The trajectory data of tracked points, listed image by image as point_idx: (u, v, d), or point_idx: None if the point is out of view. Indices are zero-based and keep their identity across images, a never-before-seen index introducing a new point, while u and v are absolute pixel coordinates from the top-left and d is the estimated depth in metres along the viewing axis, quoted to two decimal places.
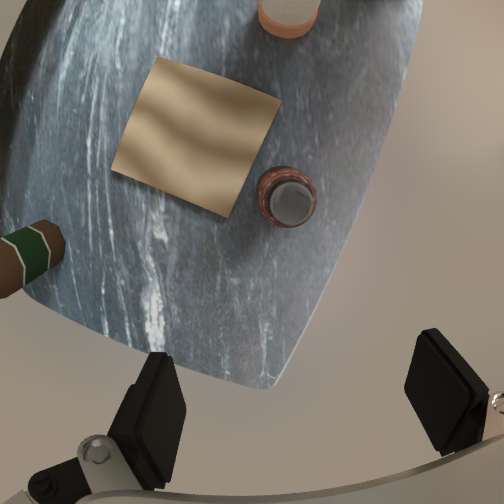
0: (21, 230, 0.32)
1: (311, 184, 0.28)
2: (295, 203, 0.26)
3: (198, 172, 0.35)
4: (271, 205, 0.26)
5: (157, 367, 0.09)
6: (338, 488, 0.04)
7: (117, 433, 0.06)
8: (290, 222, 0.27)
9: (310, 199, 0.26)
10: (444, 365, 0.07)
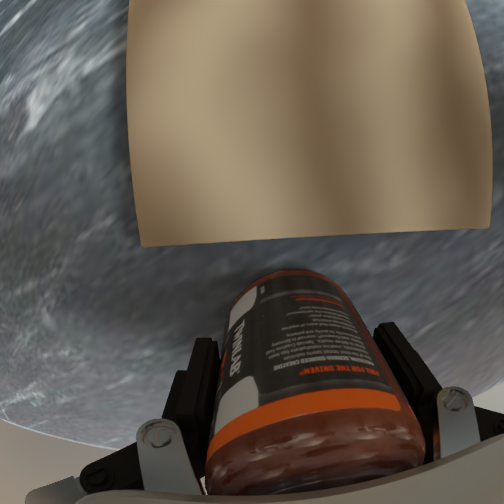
0: None
1: None
2: None
3: (224, 92, 0.10)
4: None
5: (206, 351, 0.10)
6: (338, 488, 0.04)
7: (178, 414, 0.07)
8: None
9: None
10: (395, 358, 0.08)
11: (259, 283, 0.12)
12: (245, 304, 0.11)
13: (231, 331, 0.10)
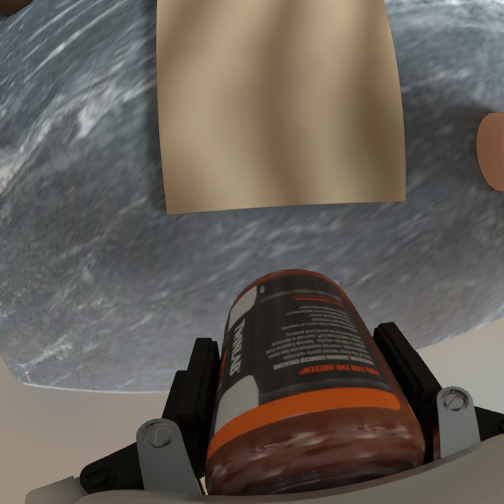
0: None
1: None
2: None
3: (219, 120, 0.17)
4: None
5: (206, 351, 0.10)
6: (338, 488, 0.04)
7: (179, 414, 0.07)
8: None
9: None
10: (395, 358, 0.08)
11: (259, 283, 0.12)
12: (245, 303, 0.11)
13: (231, 331, 0.10)
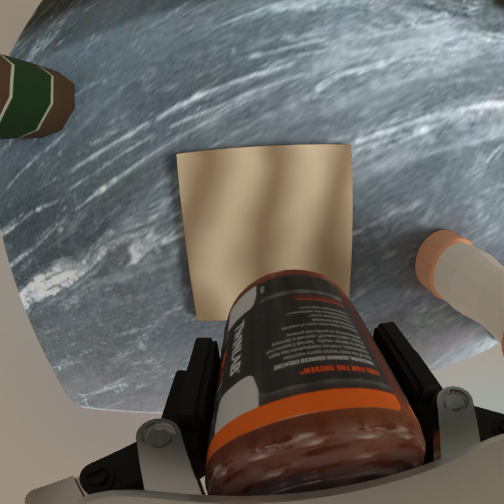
0: (40, 76, 0.18)
1: None
2: None
3: (228, 269, 0.29)
4: None
5: (206, 351, 0.10)
6: (338, 488, 0.04)
7: (179, 414, 0.07)
8: None
9: None
10: (395, 358, 0.08)
11: (259, 283, 0.12)
12: (245, 303, 0.11)
13: (231, 331, 0.10)
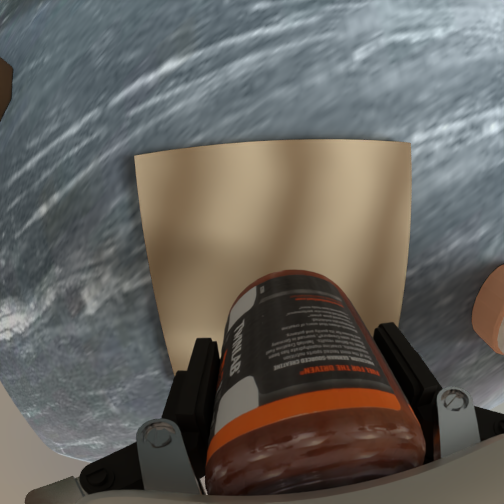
0: None
1: None
2: None
3: (219, 333, 0.19)
4: None
5: (206, 351, 0.10)
6: (338, 488, 0.04)
7: (179, 414, 0.07)
8: None
9: None
10: (395, 358, 0.08)
11: (259, 283, 0.12)
12: (245, 303, 0.11)
13: (231, 331, 0.10)
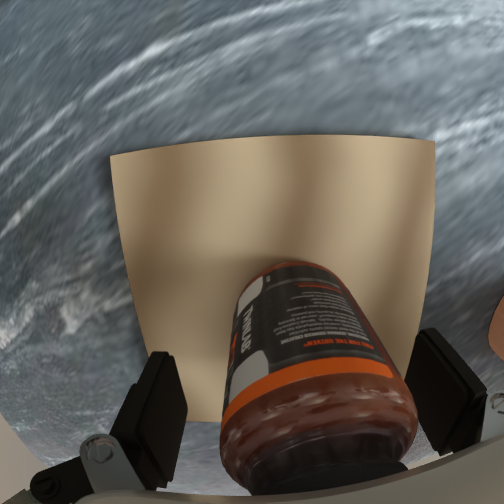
0: None
1: None
2: None
3: (212, 360, 0.16)
4: None
5: (159, 366, 0.09)
6: (338, 488, 0.04)
7: (119, 432, 0.06)
8: None
9: None
10: (442, 364, 0.07)
11: (265, 273, 0.13)
12: (252, 291, 0.12)
13: (240, 316, 0.12)
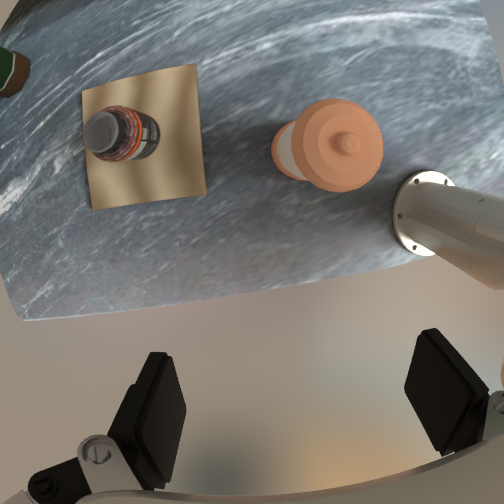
0: (6, 54, 0.23)
1: (132, 141, 0.25)
2: (101, 133, 0.23)
3: (111, 164, 0.34)
4: (90, 117, 0.22)
5: (157, 367, 0.09)
6: (338, 488, 0.04)
7: (117, 433, 0.06)
8: (85, 141, 0.23)
9: (110, 143, 0.23)
10: (444, 365, 0.07)
11: None
12: None
13: None
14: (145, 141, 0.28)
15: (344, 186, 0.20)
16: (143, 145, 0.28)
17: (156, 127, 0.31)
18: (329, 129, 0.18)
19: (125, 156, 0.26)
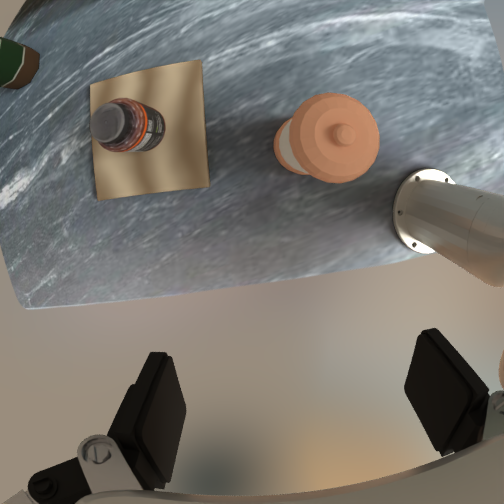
0: (16, 47, 0.24)
1: (137, 132, 0.26)
2: (107, 124, 0.24)
3: (116, 156, 0.35)
4: (97, 108, 0.23)
5: (157, 367, 0.09)
6: (338, 488, 0.04)
7: (117, 433, 0.06)
8: (92, 131, 0.24)
9: (116, 133, 0.24)
10: (444, 365, 0.07)
11: None
12: None
13: None
14: (150, 133, 0.29)
15: (340, 176, 0.20)
16: (148, 136, 0.29)
17: (161, 120, 0.32)
18: (325, 121, 0.18)
19: (130, 147, 0.27)
